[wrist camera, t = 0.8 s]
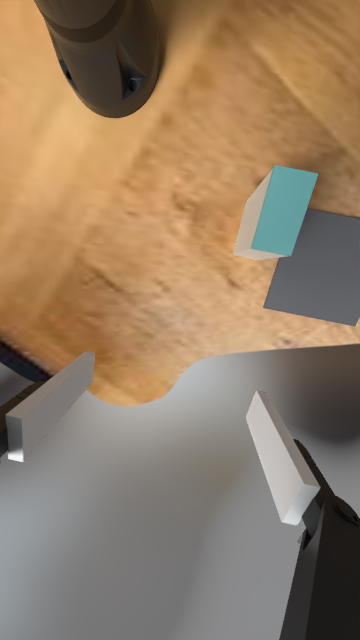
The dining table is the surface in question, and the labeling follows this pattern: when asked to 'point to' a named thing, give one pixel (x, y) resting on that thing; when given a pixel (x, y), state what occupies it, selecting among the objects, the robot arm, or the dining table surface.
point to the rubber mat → (320, 271)
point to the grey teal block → (275, 214)
